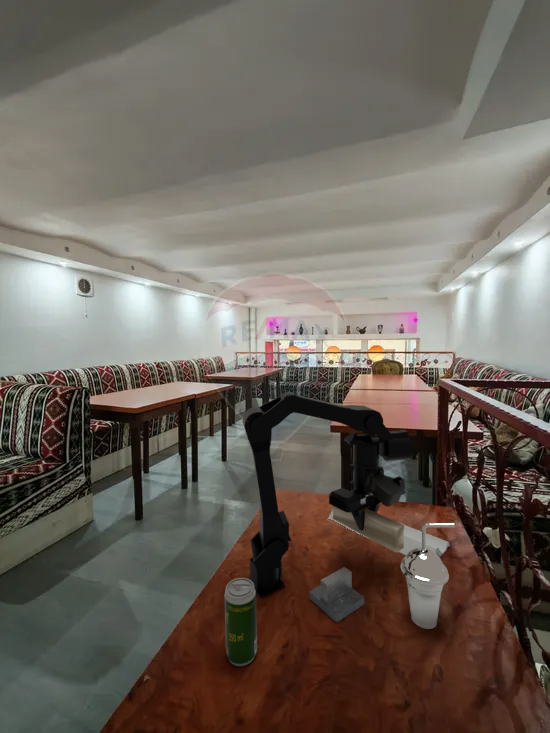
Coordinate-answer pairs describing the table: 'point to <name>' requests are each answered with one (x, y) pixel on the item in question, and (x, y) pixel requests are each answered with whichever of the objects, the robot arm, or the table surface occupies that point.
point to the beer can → (240, 621)
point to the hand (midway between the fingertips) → (365, 527)
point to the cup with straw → (425, 580)
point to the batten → (375, 528)
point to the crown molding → (415, 540)
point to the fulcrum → (337, 595)
